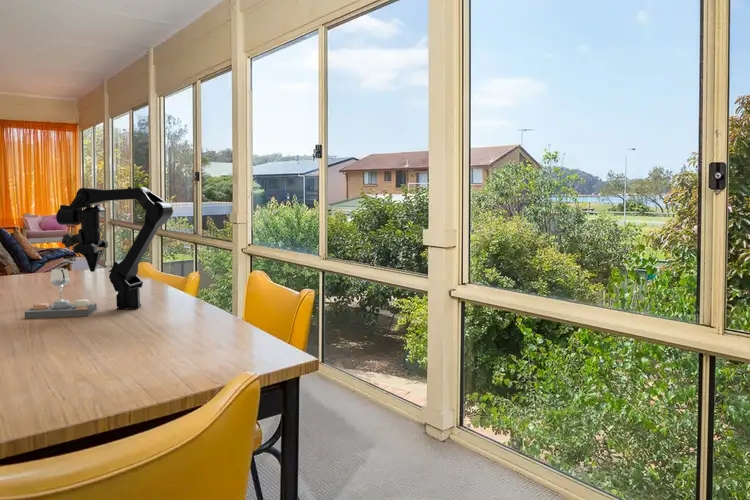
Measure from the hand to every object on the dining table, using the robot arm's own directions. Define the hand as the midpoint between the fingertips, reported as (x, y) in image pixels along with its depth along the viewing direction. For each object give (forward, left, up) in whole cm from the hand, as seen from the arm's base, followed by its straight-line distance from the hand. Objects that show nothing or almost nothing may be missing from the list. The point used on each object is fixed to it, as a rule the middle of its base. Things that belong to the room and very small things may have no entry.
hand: (92, 271), depth 191 cm
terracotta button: (+13, +10, -11) cm, 20 cm away
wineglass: (+13, -9, -12) cm, 20 cm away
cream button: (+1, +10, -11) cm, 15 cm away
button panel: (+7, +10, -12) cm, 17 cm away
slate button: (+7, +10, -11) cm, 16 cm away
